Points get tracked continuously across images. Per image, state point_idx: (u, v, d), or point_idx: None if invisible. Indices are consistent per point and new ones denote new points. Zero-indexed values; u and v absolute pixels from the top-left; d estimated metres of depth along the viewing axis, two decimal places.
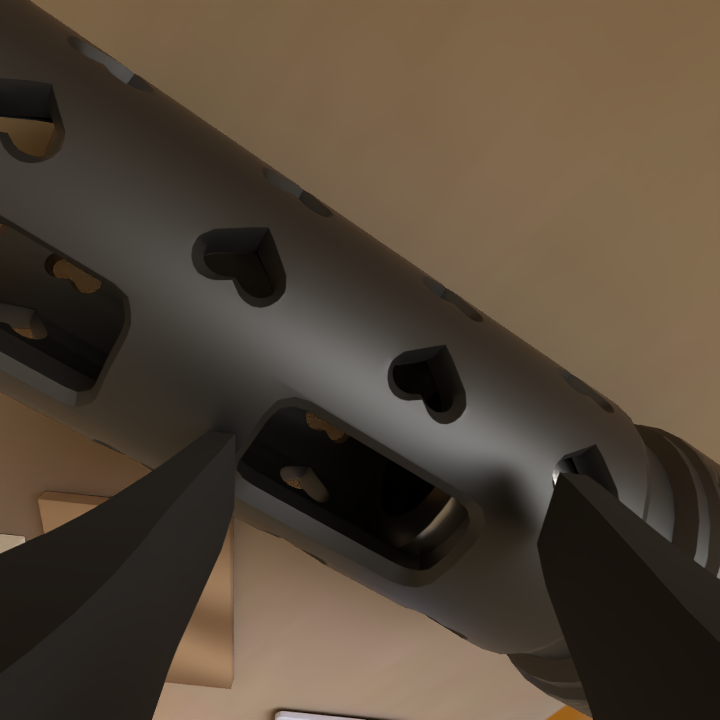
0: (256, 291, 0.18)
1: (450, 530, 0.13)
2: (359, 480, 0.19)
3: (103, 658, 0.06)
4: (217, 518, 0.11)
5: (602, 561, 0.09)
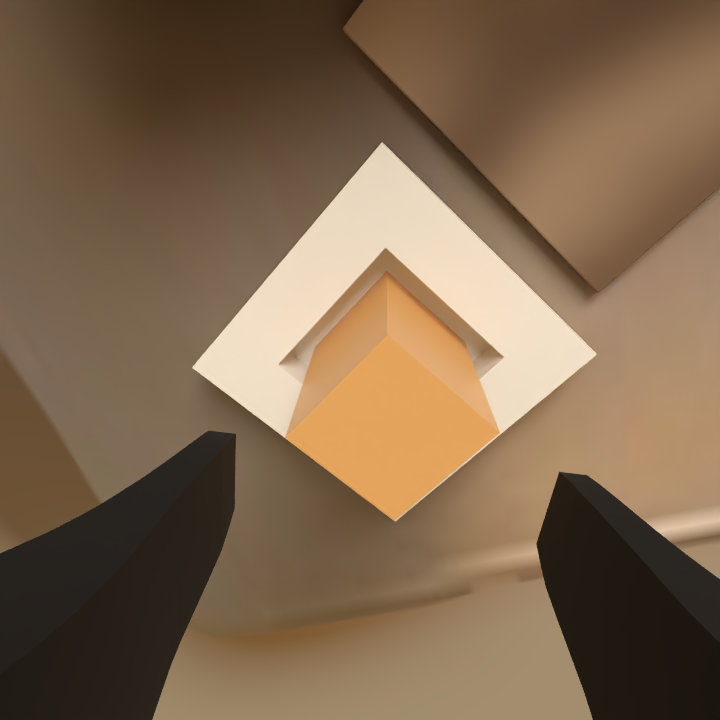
0: None
1: None
2: None
3: (103, 658, 0.06)
4: (217, 518, 0.11)
5: (602, 561, 0.09)
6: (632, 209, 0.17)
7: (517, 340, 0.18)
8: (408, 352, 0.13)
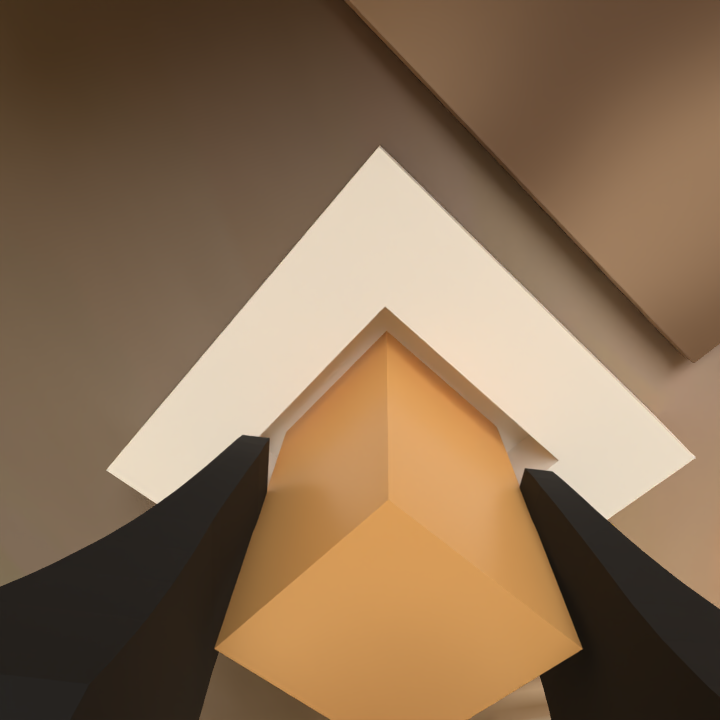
0: None
1: None
2: None
3: (164, 665, 0.06)
4: (253, 522, 0.11)
5: (560, 556, 0.09)
6: None
7: (579, 438, 0.12)
8: (426, 527, 0.07)
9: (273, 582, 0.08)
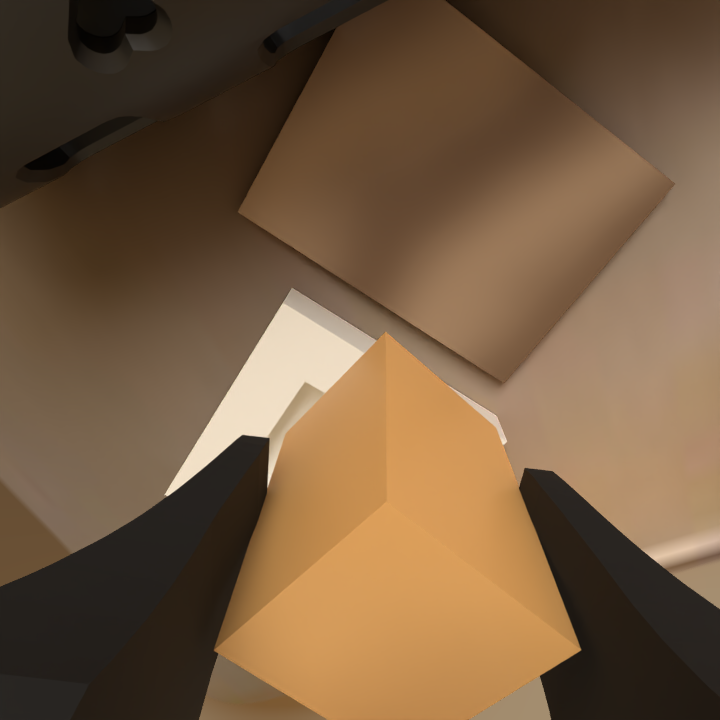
0: None
1: None
2: None
3: (164, 665, 0.06)
4: (253, 522, 0.11)
5: (560, 556, 0.09)
6: (516, 314, 0.19)
7: None
8: (424, 529, 0.07)
9: (272, 584, 0.08)
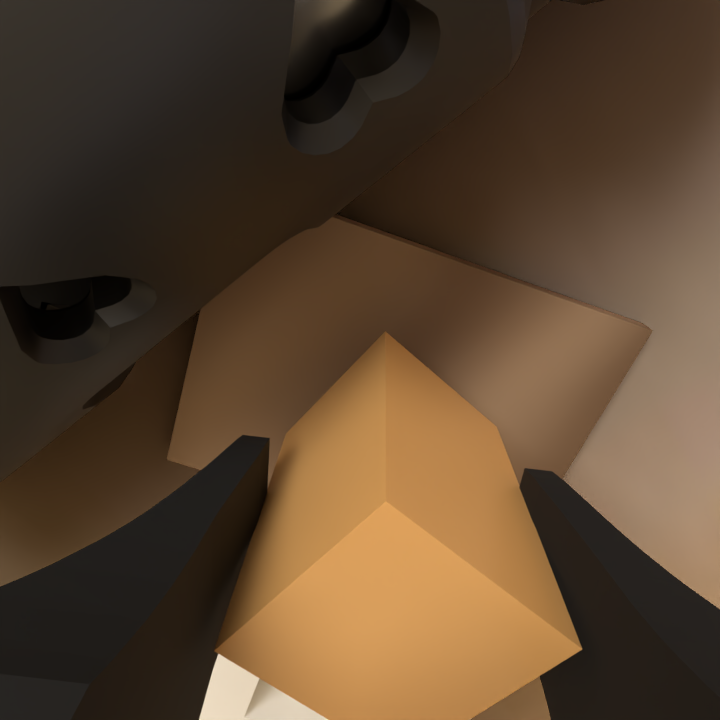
0: None
1: None
2: None
3: (165, 665, 0.06)
4: (253, 522, 0.11)
5: (560, 556, 0.09)
6: None
7: None
8: (424, 528, 0.07)
9: (272, 584, 0.08)
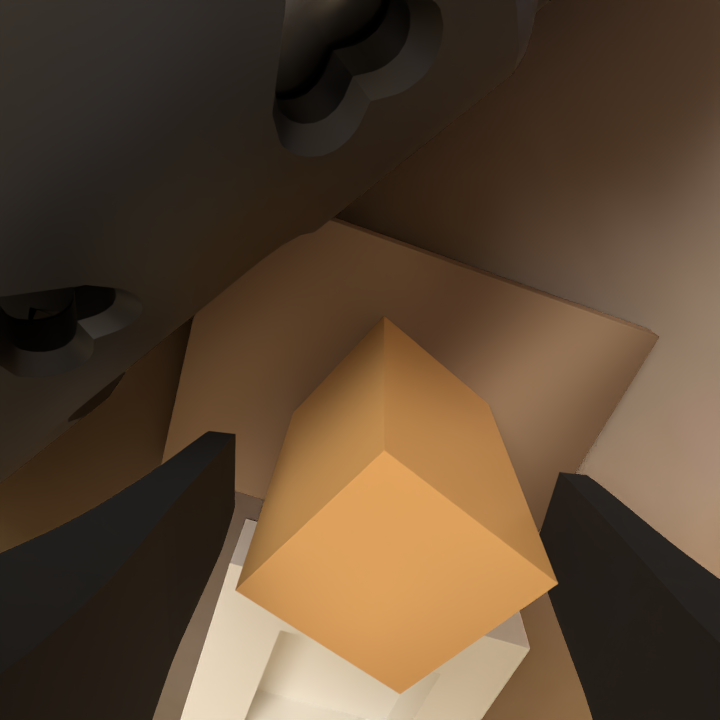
0: None
1: None
2: None
3: (103, 658, 0.06)
4: (217, 518, 0.11)
5: (602, 561, 0.09)
6: None
7: None
8: (417, 474, 0.08)
9: (286, 530, 0.09)
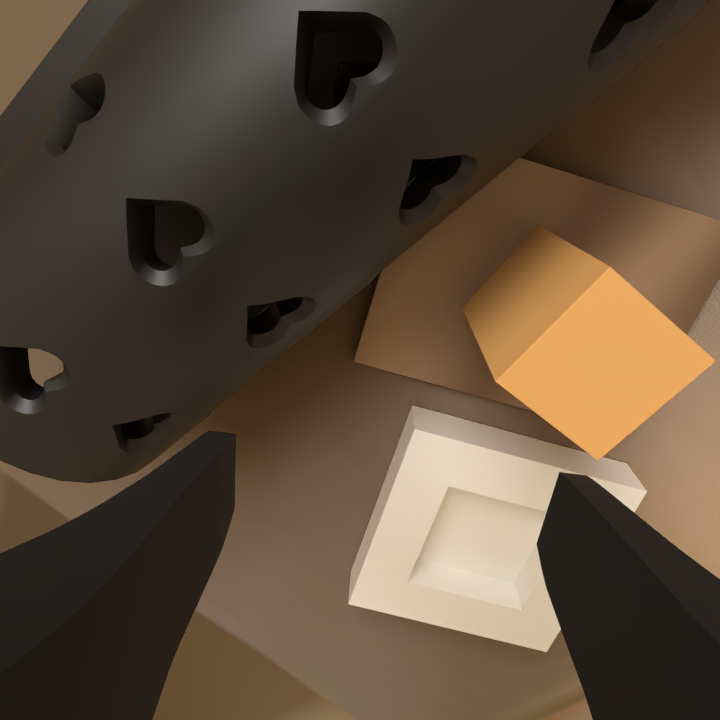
0: None
1: None
2: None
3: (104, 658, 0.06)
4: (217, 518, 0.11)
5: (602, 561, 0.09)
6: None
7: None
8: None
9: (529, 338, 0.14)
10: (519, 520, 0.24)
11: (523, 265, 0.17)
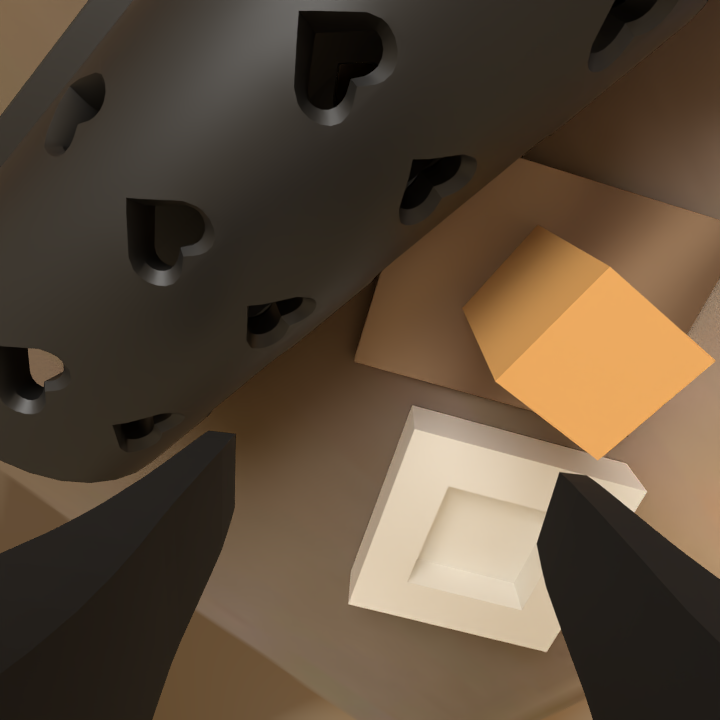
0: None
1: None
2: None
3: (104, 658, 0.06)
4: (217, 518, 0.11)
5: (602, 561, 0.09)
6: None
7: None
8: None
9: (529, 338, 0.14)
10: (519, 520, 0.24)
11: (523, 265, 0.17)
